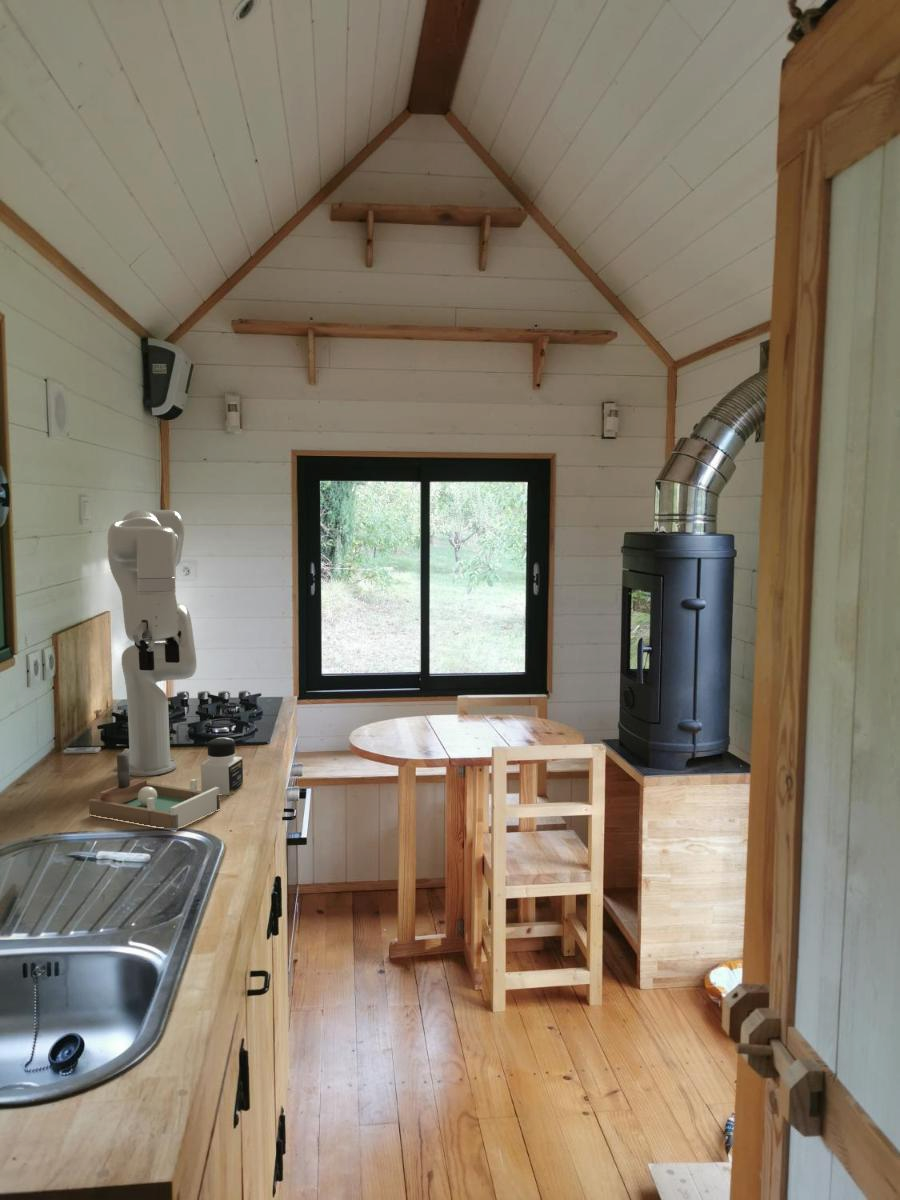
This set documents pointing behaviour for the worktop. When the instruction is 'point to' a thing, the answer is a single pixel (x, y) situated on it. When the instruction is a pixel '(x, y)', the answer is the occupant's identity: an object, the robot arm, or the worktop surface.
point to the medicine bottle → (222, 767)
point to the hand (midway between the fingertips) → (160, 666)
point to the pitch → (162, 806)
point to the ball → (146, 795)
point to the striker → (123, 783)
